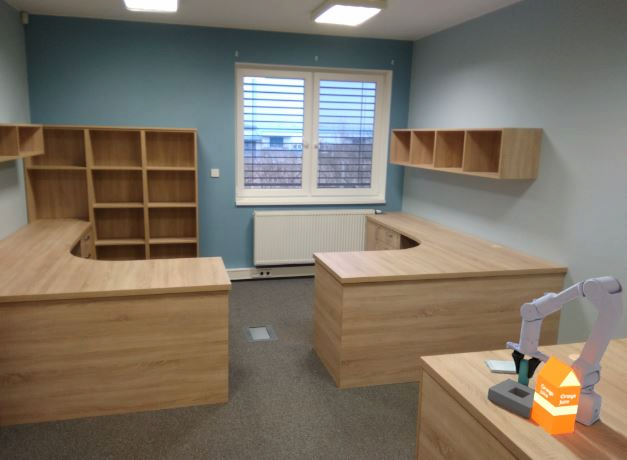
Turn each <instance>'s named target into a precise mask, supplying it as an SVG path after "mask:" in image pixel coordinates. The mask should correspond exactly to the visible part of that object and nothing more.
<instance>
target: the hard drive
mask: <svg viewBox="0 0 627 460" xmlns="http://www.w3.org/2000/svg"><path fill="white" fill-rule="evenodd" d="M483 362H484V364H485V366H486V367H487V368H488V369H489V372H491V373H497V374H498V373H502V374H517V373H516V367H515V363H514V360H511V361H510V360H495V359H484V361H483ZM517 375H518V374H517Z"/></svg>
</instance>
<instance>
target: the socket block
mask: <svg viewBox="0 0 627 460" xmlns="http://www.w3.org/2000/svg"><path fill="white" fill-rule="evenodd" d="M534 394H535V389H534V388H531V387H529V386H525V385H523V384H520V383H518V381H516V380H514V379H511V378H507V379H504V380H503V381H501V382H499V383H496V384H494V385H493V386H491V387H488V391H487V400H489V401H492V402H494V403H496V404H498V405H499V406H502V407H504V408H506V409H508V410H510V411H512V412H514V413H516V414H518V415H520V416H522V417H524V418H527V419H528V420H530V419H532V418H531V416H532V409H533V402H534Z"/></svg>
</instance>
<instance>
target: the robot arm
mask: <svg viewBox="0 0 627 460" xmlns="http://www.w3.org/2000/svg"><path fill="white" fill-rule="evenodd" d="M624 292H625V288H624V287H623V285H622V283H621V281H620V280H619V278H617V277H616V276H613V275H604V276H601V277H600V276H599V277H594V278H592V277H591V278H587V279H586V280H583V281H579V282H577V283H576V284H573V285H572V286H570V287H567V288H566V289H563V290H562V291H561V292H558V293H556V292H544V293H543V296H541V297H539V298H533V299H532V302H525V303H524V304H522V305H521V306H520V308H519V315H520V316H521V318H522V322H521V329H520V336H519V343H516V342H515V343H514V342H512V341H507V342H506V344H505V349H510V350H513V351H512V352H511V355H510V356H511V357H512V359H513V360H512V361H514V363H515V367H516V373H517V375H519V368H520V361H521V359H525V356H528V357H530V358H529V359H527V360H528V365H529V369H528V378H529V380H530V379H532V378H533V376H534V374H535V371H536V370H537V368H538V367H539V365H540V364H541V363H544V364H546V363H547V361H548V360H549V359H550V357H551V356H548V355H546V354H545V353H543V352H542V351H540V350H538V349H539V341H540V336H541V335H540V334H541V328H542V324H543V320H544V319H545V318H546V317H547V316H548V315H551V314H553V313H555V312H557V311H559V310H561V309H562V308H563V305H564V304H565V303H567V302H569V301H572V300H575V299H576V298H579V297H582V298H587V300H588V301H589V302H590V303H591V304H592V305H593V306H594V308H595V309H596V310H597V311H598V312H599V313H598V315H597V317H596V320H595V322H594V324H593V326H592V329H591V331H590V333H589V334H588V337H587V339H586V341H585V344H584V346H583V348H582V350H581V353H580V354H579V357H577V358H576V360H574V361H573V362H572V363H571V365H570V367H571V368H572V369H573V371H574V373H575V375H576V377H577V379H578V381H579V383H580V385H581V388H580V394H579V400H578V407H577V413H576V418H575V422H579V423H580V424H582V425H585V426H587V427H589V426H591V425H593V423H595V422H596V421H598V420H599V419H600V418H601V417H600V413H601V408H602V402H603V396H601V395H600V394H598V393H597V392H596V391H594V390H595V386H596V385H597V384H598V383H600V380H601V371H602V368H603V367H602V365H601V364H600V363H601V361H602V359H603V356H604V354H605V353H606V351H607V348H608V347H609V345H610V342H611V340H612V338H613V336H614V334H615V331H616V330H617V328H618V325H619V324H620V321H621V319H622V317H623V315H624V308H623V306H624V305H623V295H624Z"/></svg>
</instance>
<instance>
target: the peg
mask: <svg viewBox="0 0 627 460" xmlns="http://www.w3.org/2000/svg"><path fill="white" fill-rule="evenodd" d="M528 360H529V359H526V358H524V359H521V361H520V368H519V374H518V376H517V382H518V383H520V384H523V385H525V386H527V387H529V384H530V379H529V378H528V369H529V365H528Z"/></svg>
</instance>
